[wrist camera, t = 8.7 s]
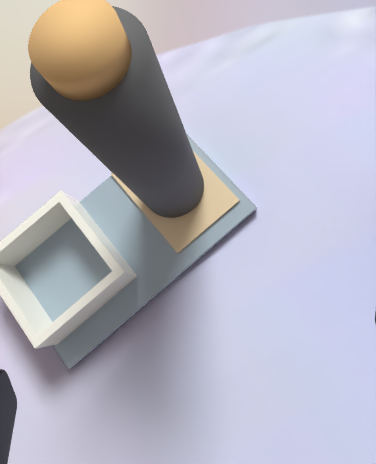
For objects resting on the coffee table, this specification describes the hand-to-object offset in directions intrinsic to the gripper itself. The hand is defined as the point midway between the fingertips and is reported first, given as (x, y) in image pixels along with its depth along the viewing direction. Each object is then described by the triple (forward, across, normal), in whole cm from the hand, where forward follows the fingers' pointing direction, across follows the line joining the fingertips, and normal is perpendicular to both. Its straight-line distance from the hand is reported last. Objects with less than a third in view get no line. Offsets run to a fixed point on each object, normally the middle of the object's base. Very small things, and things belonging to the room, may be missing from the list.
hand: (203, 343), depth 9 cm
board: (+15, +2, +3) cm, 16 cm away
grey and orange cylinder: (+15, -1, 0) cm, 15 cm away
